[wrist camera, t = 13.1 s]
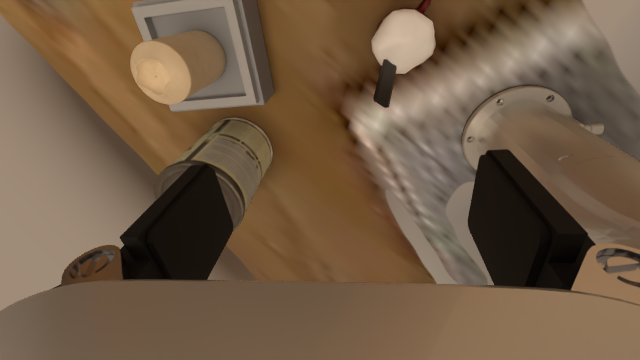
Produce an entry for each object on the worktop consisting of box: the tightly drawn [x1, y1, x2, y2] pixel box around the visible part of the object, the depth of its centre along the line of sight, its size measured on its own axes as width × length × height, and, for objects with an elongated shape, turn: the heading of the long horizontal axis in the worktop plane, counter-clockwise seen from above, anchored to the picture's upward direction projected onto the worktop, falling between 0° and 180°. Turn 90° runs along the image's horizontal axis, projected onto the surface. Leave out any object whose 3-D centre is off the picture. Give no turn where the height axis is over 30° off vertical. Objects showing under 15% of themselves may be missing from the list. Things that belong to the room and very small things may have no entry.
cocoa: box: [371, 0, 436, 108], centre depth 30 cm, size 10×6×12 cm, turn 128°
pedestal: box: [131, 0, 274, 112], centre depth 35 cm, size 12×12×6 cm
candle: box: [130, 30, 226, 104], centre depth 29 cm, size 6×6×10 cm
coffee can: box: [154, 117, 273, 231], centre depth 39 cm, size 10×10×14 cm
